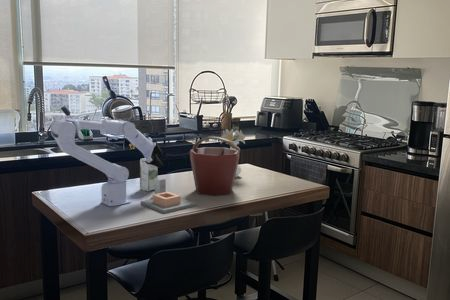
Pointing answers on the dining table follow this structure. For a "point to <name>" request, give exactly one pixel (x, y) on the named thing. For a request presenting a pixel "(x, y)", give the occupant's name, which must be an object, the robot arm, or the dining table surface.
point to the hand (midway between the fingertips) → (161, 160)
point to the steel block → (160, 185)
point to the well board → (167, 202)
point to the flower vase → (235, 138)
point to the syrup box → (147, 175)
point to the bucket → (214, 168)
